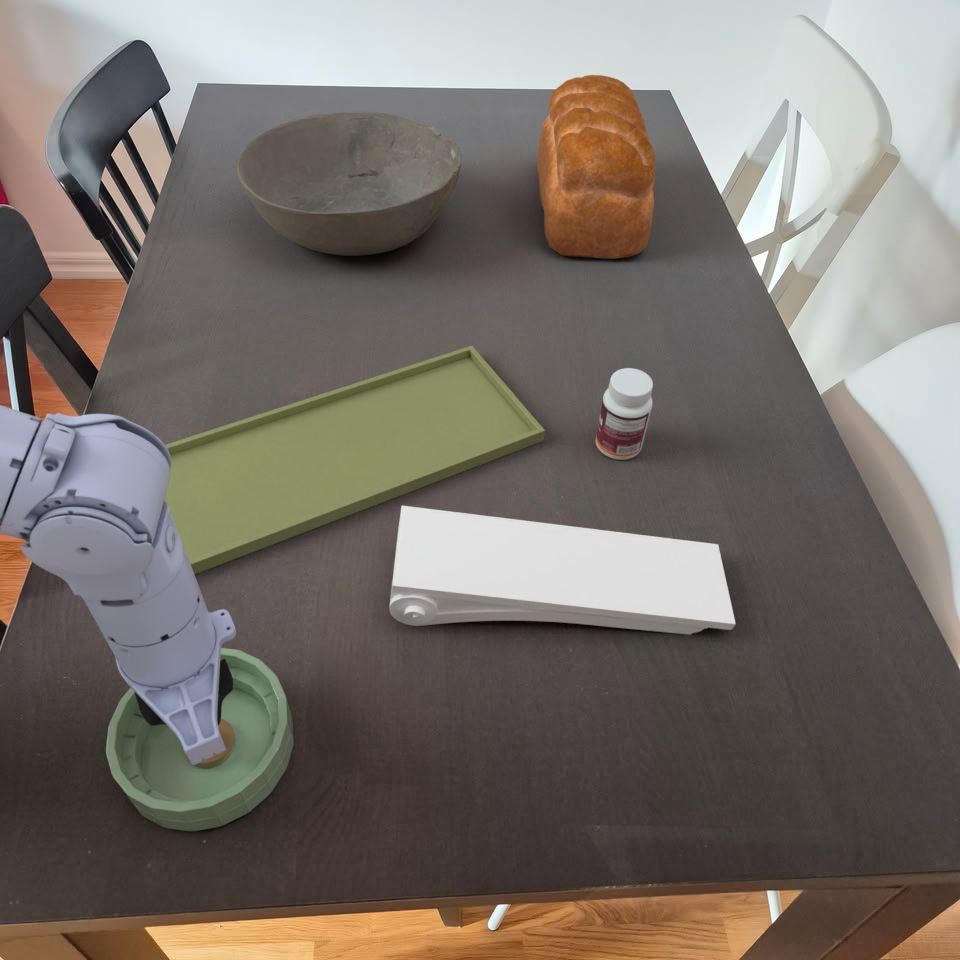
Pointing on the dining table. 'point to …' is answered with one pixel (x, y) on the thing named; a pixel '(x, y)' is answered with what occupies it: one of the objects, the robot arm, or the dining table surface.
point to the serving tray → (340, 454)
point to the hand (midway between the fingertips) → (200, 715)
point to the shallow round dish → (205, 791)
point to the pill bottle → (624, 414)
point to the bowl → (350, 180)
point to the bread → (596, 170)
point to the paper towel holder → (228, 741)
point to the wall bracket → (552, 575)
